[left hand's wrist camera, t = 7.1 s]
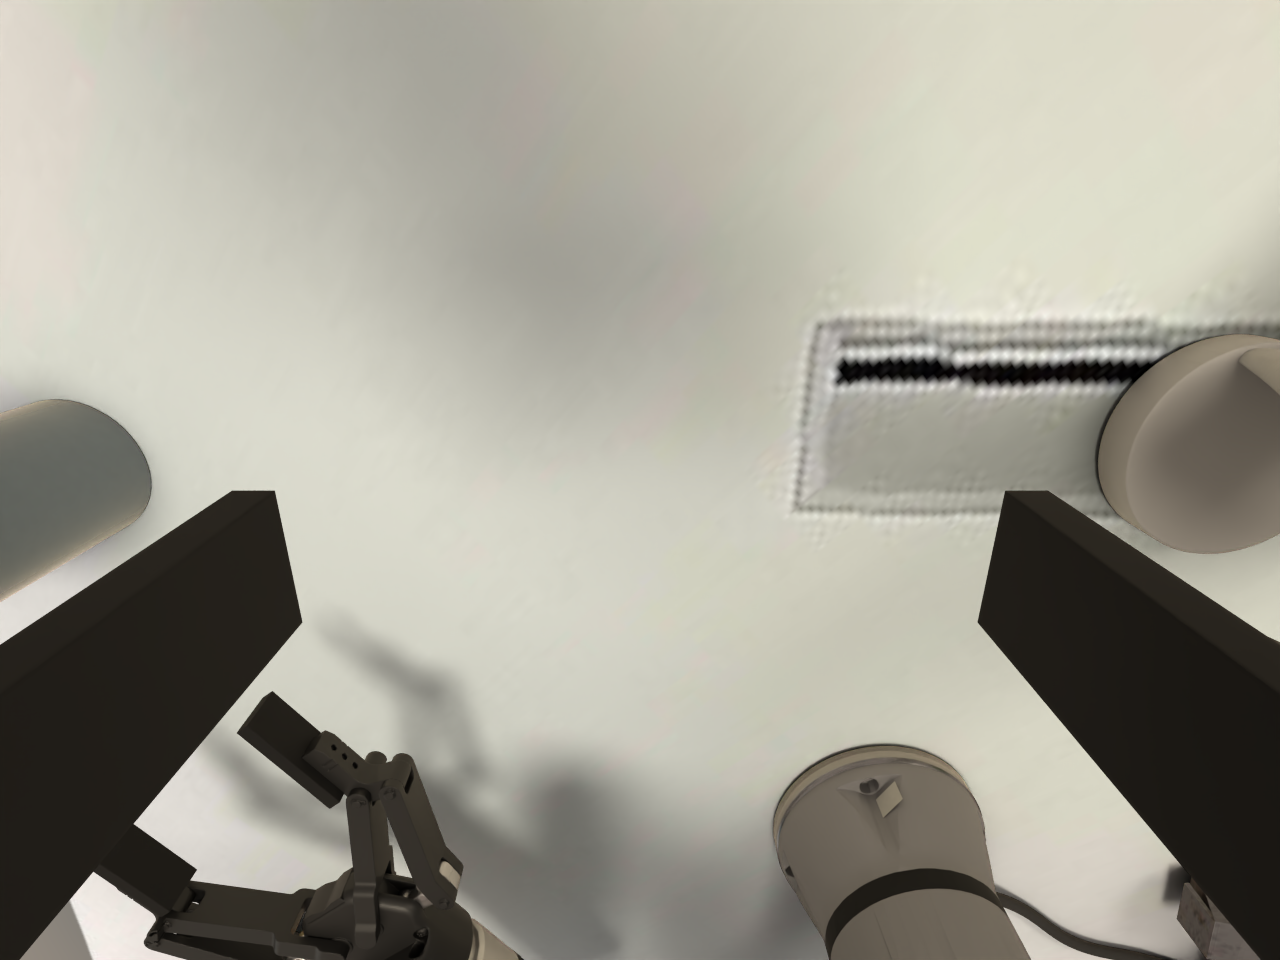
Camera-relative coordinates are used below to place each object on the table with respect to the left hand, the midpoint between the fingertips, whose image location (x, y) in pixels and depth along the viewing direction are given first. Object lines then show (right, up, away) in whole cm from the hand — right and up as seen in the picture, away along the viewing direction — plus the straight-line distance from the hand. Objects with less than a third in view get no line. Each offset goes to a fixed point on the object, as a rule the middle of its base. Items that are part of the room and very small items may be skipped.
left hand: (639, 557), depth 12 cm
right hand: (-26, -15, +25) cm, 39 cm away
